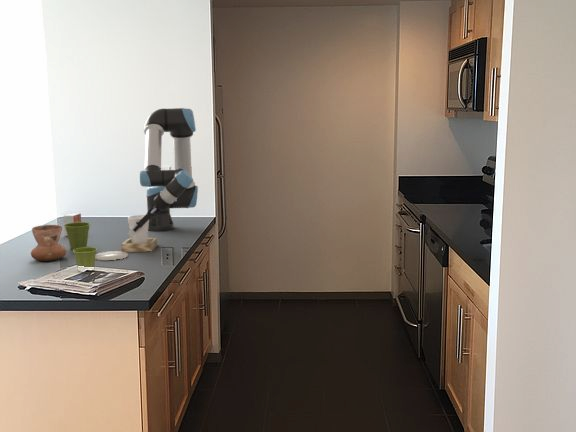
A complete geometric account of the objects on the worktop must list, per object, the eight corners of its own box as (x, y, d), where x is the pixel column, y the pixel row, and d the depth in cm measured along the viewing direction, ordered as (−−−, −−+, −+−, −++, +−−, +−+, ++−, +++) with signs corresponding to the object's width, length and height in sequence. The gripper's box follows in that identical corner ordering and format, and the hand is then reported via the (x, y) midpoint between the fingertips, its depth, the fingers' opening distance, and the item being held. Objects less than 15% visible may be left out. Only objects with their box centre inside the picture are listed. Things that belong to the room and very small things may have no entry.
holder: (157, 245, 316) (157, 237, 315) (151, 251, 303) (150, 244, 302) (129, 245, 316) (128, 238, 316) (121, 251, 303) (121, 244, 303)
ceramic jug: (66, 262, 285) (64, 229, 282) (30, 265, 280) (27, 231, 278) (66, 253, 302) (64, 222, 299) (32, 255, 297) (30, 224, 295)
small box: (74, 236, 339) (73, 215, 337) (64, 236, 340) (62, 215, 338) (82, 233, 346) (81, 213, 345) (72, 233, 347) (71, 212, 346)
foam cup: (131, 242, 314) (129, 215, 311) (151, 242, 314) (149, 214, 312) (128, 247, 304) (126, 219, 302) (148, 246, 305) (147, 218, 303)
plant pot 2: (103, 268, 273) (102, 247, 272) (89, 274, 265) (88, 252, 263) (83, 267, 276) (82, 246, 275) (69, 272, 268) (68, 251, 266)
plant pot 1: (69, 252, 303) (67, 227, 302) (62, 247, 313) (61, 223, 311) (95, 248, 310) (93, 224, 308) (88, 244, 320) (86, 221, 318)
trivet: (122, 252, 303) (122, 249, 302) (131, 258, 291) (131, 255, 290) (91, 255, 296) (91, 253, 296) (99, 262, 284) (99, 260, 284)
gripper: (166, 208, 295) (132, 244, 298) (175, 200, 316) (144, 233, 320) (153, 197, 294) (120, 232, 297) (164, 189, 315) (132, 222, 319)
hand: (132, 233), depth 308 cm, fingers closed on foam cup, 9 cm apart
